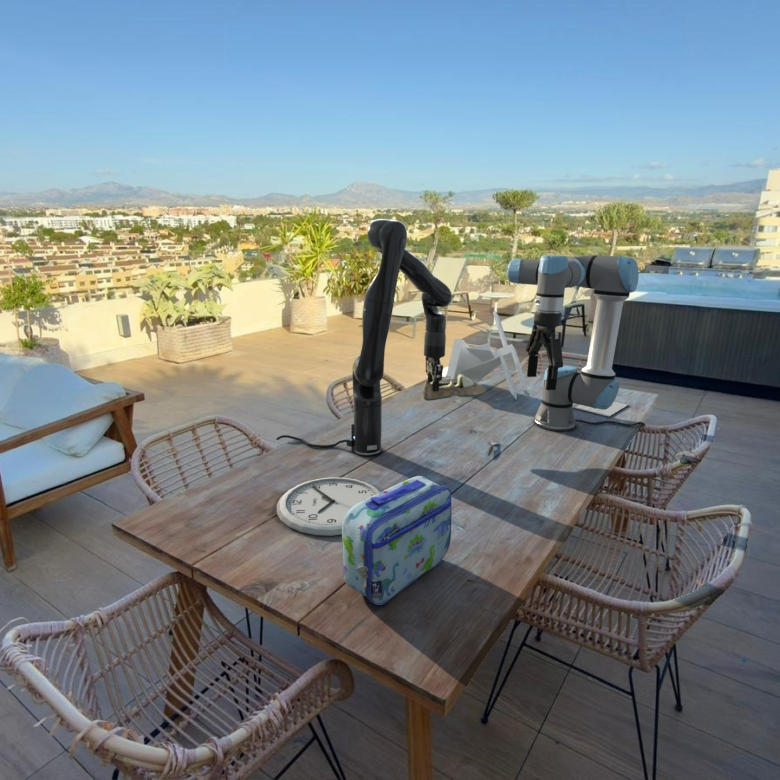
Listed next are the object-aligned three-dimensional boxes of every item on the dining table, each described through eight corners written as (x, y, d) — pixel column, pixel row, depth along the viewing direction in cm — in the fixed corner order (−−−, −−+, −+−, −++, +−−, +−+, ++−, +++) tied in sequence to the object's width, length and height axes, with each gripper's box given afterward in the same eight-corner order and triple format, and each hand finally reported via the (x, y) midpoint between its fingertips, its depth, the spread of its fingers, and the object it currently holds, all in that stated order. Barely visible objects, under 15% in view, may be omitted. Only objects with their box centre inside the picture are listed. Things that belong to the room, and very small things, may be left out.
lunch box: (371, 618, 102) (371, 524, 95) (336, 591, 109) (334, 502, 103) (455, 562, 119) (460, 479, 113) (420, 542, 126) (423, 463, 120)
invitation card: (608, 416, 214) (573, 407, 224) (608, 416, 214) (573, 408, 224) (628, 404, 229) (594, 396, 238) (628, 405, 229) (594, 397, 238)
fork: (484, 456, 175) (484, 450, 174) (492, 439, 189) (492, 434, 188) (491, 457, 174) (492, 452, 173) (499, 440, 188) (499, 435, 188)
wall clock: (392, 527, 129) (268, 531, 127) (391, 533, 130) (269, 537, 127) (383, 473, 158) (282, 475, 155) (383, 478, 158) (282, 480, 156)
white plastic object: (461, 429, 252) (437, 405, 227) (444, 352, 274) (420, 323, 250) (535, 404, 240) (518, 377, 215) (510, 326, 262) (492, 293, 237)
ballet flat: (490, 396, 191) (490, 375, 188) (426, 404, 185) (425, 382, 183) (481, 390, 198) (481, 369, 196) (419, 397, 193) (418, 376, 191)
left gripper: (419, 339, 191) (417, 383, 196) (430, 347, 177) (428, 395, 182) (438, 338, 192) (437, 382, 197) (451, 347, 179) (449, 393, 184)
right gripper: (519, 305, 160) (513, 371, 166) (555, 318, 136) (546, 396, 143) (542, 304, 161) (535, 371, 167) (582, 318, 137) (572, 395, 144)
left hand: (433, 388), depth 190 cm, fingers closed on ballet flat, 5 cm apart
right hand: (540, 382), depth 155 cm, fingers open, 13 cm apart
